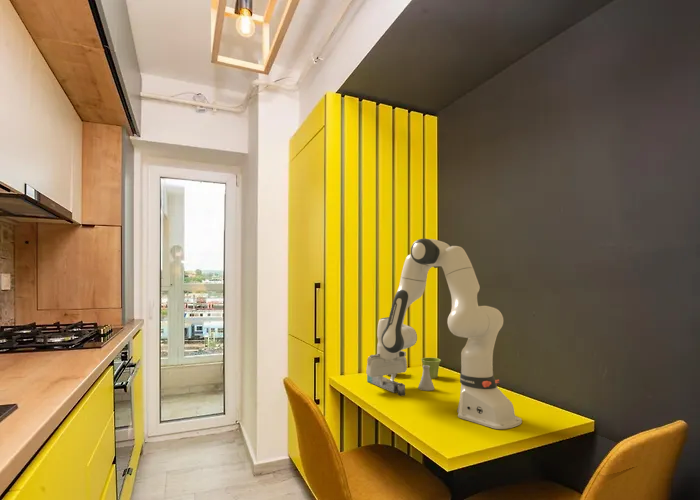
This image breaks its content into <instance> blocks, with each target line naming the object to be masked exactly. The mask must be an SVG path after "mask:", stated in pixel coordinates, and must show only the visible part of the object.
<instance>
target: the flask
mask: <svg viewBox="0 0 700 500" xmlns="http://www.w3.org/2000/svg"><path fill="white" fill-rule="evenodd" d="M429 368H430V366H423V365H422V374H421V375H422V376H421V380H420V382H419V383H418V384H419V385H418V387H417V389H419V390H420V391H427V392H429V391H430V392H431V391H434V390H435V386H434V383H433V381H432V378H431V377H430V373H429Z"/></svg>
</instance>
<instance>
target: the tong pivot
mask: <svg viewBox="0 0 700 500" xmlns="http://www.w3.org/2000/svg"><path fill="white" fill-rule="evenodd" d="M399 383H400V384H398V385H397V396H401V397H402V396H405V395H406V384H405V383H402V382H399Z"/></svg>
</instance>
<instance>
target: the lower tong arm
mask: <svg viewBox="0 0 700 500" xmlns="http://www.w3.org/2000/svg"><path fill="white" fill-rule="evenodd" d="M377 377H378V376H377ZM382 379H385V380H387V381H390V382H392V383H395V384H397V385H398V384H400V383H401V382H398V381H395V380H394V381H393V380H390V379H389V378H387V377H385V376H383V378H382Z"/></svg>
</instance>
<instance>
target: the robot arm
mask: <svg viewBox="0 0 700 500" xmlns="http://www.w3.org/2000/svg"><path fill="white" fill-rule="evenodd" d="M431 268H435V269H437V268H442V270H443V273H444V276H445V279H446V283H447V285H448V290H449V294H450V297H451V310H450V313H449V315H448V317H447V327H448V330H449V332H451V334H452V335H453V336H455V337H459V338H466V339H467V341H466V343H465V345H464V347H463V348H462V349H461V353H460V360H461V361H460V364H461V365H460V367H461V368H460V369H461V371H460V373H459V379H460V380H459V382H460V385H461V386H460V396H459V402H458V406H457V412H456V413H458V414H457V417H458V418H460V419H462V420H466V421H469V422H472V423H474V424H478V425H481V426H485V427H488V428H492V429H494V430H507V429H512V428H514V427H518V426H520V425H521V424H522V422H523V421H522V420H523V419H522V418H521V417H518V416H517V415H516V414H515V408H514V405H513V403H512V401H510V399H509V398H508V397H507V396H506V395H505V394H504V392H502V390H500V389H499V388H498V383H500V379H496V378H495V376H494V371H493V369H494V368H493V366H494V365H493V363H494V361H493V357H494V349H495V344H496V340H497V336H498V334H499V331H501V329H502V327H503V326H504V316H503V314H502V313H501V311H500V310H499V309H498V308H496V307H493V306H489V305H479V302H478V294H479V292H480V287H481V286H480V284H479V280H478V278H477V275H476V272H475V269H474V267H473V264H472V262H471V259H470V258H469V256H468V254H467V252H466V251H465V249H464V248H463V247H462V246H458V245H452V244H451V243H449V242H446V241H441V240H438V239H433V238H419V239H417V240H415V241H414V242H413V243H412V245H411V247H410V254H407V256H406V257H405V260H404V262H403V267H402V270H401V275H400V279H399V284H398V285H399V286H398V288H397V291H396V293H395V296H394V298H393V301H392V304H391V308H390V312H389V316H387V317H382V318H380V319H379V320H378V324H377V332H376V334H377V335H376V336H377V345H376V346H377V347H376V354H370V356H368V358H367V361H366V362H367V363H366V364H367V365H366V373H365V374H366V376H367V375H368V376H370V377H376V376H378V379H379V381H380V385H381V386H383V385H385V384H384V383H385V381H383V380H382V378H383V377H384V376H390V375H389V374H391V376H390V380H393V381H395V378H396V376H397V375H396V373H397V374H402V373H406V372H407V369H408V368H407V367H408V364H407V363H408V362H407V358H406V356H407V352H406V351H404V350H406V349H409V348H411V347H413V346H414V345H416V343H417V341H418V335H417V331H416V330H415V329H414V327H412V326H410V325H408V324H406V323H405V324H404V321H405V316H406V313H407V310H408V308H409V307H410V306H411V305H412V304H413V303H414V302H416V301H417V300H418V299H421V297H422V296H423V295H424V292H425V289H426V285H427V279H428V273H429V270H430V269H431Z"/></svg>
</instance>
